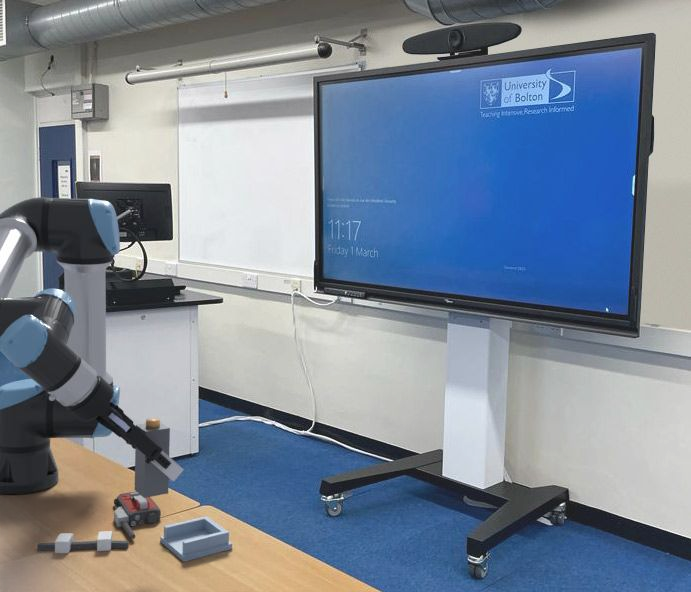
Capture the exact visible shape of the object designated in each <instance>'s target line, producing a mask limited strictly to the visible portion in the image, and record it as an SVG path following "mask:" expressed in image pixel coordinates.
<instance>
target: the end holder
mask: <svg viewBox="0 0 691 592" xmlns="http://www.w3.org/2000/svg"><path fill="white" fill-rule="evenodd" d="M159 539H160V541H159V542H160V543H161V544H162V545H163V544H164V545H163V546H164V547H166V549H168V550H169V551H170V552H171V553H173V555H175V556H176V557H177V558H178V559H180V560H181V561H182V562H185V563H186V562H189V561H192V560H195V559H199V558H203V557H206V556H211V555H214V554H217V553H221V552H225V551H229V550H232V549H233V543H232V542H231V541H230V532H229V531H228V530H227V529H225V528H224V527H222V526H221V525H220V524H218V523H217V522H216V521H214V520H213V519H212V518H210V517H209V516H207V515H206V516H202V517H197V518H192V519H188V520H184V521H181V522H176V523H172V524H167V525H164V526H163V535H161V536H159Z"/></svg>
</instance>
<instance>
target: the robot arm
mask: <svg viewBox="0 0 691 592" xmlns="http://www.w3.org/2000/svg"><path fill="white" fill-rule="evenodd" d="M117 217H118V216H117V213H116V210H115V207H114V206H113V204H112V203H111V202H109V201H107V200H101V199H94V198H66V197H65V198H62V197H60V198H59V197H47V196H46V197H39V196H38V197H33V198H32V197H31V198H29V199H25V200H22V201H19V202H18V203H15V204H14V205H12V206H10V207H8V208H7V209H5V210H4V211H2V212H1V213H0V352H1V354H3V355H4V356H5V358H6V359H7V360H8V361H9V362H10V363H11V364H12V365H13V366H14V367H16V368H18V369H19V370H20V371H21V372H22V373H23V374H25V375H26V376H27V377H29V378H26V379H21V380H17V381H11V382H8V383H5V384H2V385H1V386H0V494H2V495H3V494H4V495H24V494H31V493H36V492H40V491H41V492H42V491H43V490H46V489H49V488H51V487H53V486H55V485H56V484H57V483H58V481H59V468H58V465H57V462H56V459H55V456H54V455H53V452H52V448H51V439H72V438H73V439H77V438H78V439H80V438H81V439H85V438H86V439H87V438H88V439H94V438H106V437H109V436H111V435H112V434H113V433H114V434H115V435H116V436H117V437H119V438H121V439H122V440H124V441H125V443H126V444H127V445H129V446H131V447H132V448H133V450H134V449H135V447H136V448H137V449H138V450H139V451H140V452H142V453H143V454H144V455H145V456H146V457H147V460H146V461H145V462H146V463H147V464H149V463H150V462H151V463H153V464H154V465H155V466H156V467H157V468H158V469H159V470H161V471H162V472H163V473H164V474H165V475H166V476H167V477H169V480H170V481H172V482H175V481H176V480H177V479H178V477H179V476H180V475H181V474H182V472H183V471H184V468H182V467H181V465H179V464H178V463H177V462H176V461H175V460H174V459H173V458H171V457H170V455H169V456H168V455H167V454H166V453H165V452H164V451H163V450H162V448H161V447H158V446H157V445H156V444H155V443H154V442H153V441H152V440H151V439H149V438H148V437H147V436H146V435H145V434H144V433H143V432H142V431H141V430H139V429H138V428H137V427H136V425H135V424H134V421H133V419H131V418H130V417H129V416H127V415H126V414H125V413H124V412H125V411H124V410H123V409H122V408H121V407H119V404H120V395H121V387H120V386H117V384H116V385H114V378H113V376H112V375H111V374H109V373H108V371H107V324H106V323H107V318H106V317H107V314H106V313H107V311H106V310H107V308H106V307H107V306H106V304H107V303H106V297H107V296H106V294H107V293H106V290H107V289H106V286H107V285H106V283H107V282H106V281H107V280H106V270H107V268H109V266H110V265H111V264H112V263H113V262H114V260H113V259H114V257H113V256H114V255H115V256H116V255H118V254H119V253H120V249H121V248H120V247H121V243H120V241H121V240H120V229H119V224H118V223H119V222H118V218H117ZM37 252H38V253H39V252H40V253H41V252H43V253H55V254H56V263H58V265H60V266H61V267H62V268H63V271H64V273H63V274H64V276H63V278H64V281H63V282H64V290H61V289H58V288H47V289H46V288H45V289H44V290H41V291H39V292H38V293H37V294H35V296H33V298H21V297H20V298H19V297H17V298H16V297H8V296H9V294H10V292H11V290H12V289H13V285H14V284H15V281H16V279H17V277H18V274H19V272H20V270H21V268H22V266H23V265H24V262H25V260H26V259H27V258H29V257H31V255H33V253H37Z"/></svg>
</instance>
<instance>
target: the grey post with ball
mask: <svg viewBox="0 0 691 592" xmlns="http://www.w3.org/2000/svg"><path fill="white" fill-rule="evenodd" d="M135 426H136V427H137V428H138V429H139V430H141V431H142V432H143V433H144V434H145V435H146V436H147V437H148V438H149V439H151V440H152V441H153V442H154V443H155V444H156V445H157V446H158V447H161V448H162V450H163V451H164V452H165V453H166V454H167V455H168V456H169V457H170V441H171V440H170V439H171V437H170V436H171V435H170V434H171V428H170V427H169V426H167V425H166V424H164V423H162V422H161V419H160V418H156V417H152V418H151V417H150V418H147V419H146V420H145V423H142V424H140V423H139V424H136V425H135ZM134 453H135V456H134V457H135V460H134V461H135V462H134V465H135V466H134V492H136V491H137V492H138V493H139V494H140V495H141V496H142V497H144V498H147V497H150V498H151V497H156V496H157V497H158V496H162V495H166V494H169V482H170V481H169V480H170V478H169V477H167V476H166V475H165V474H164V473H163V472H162V471H161V470H159V469H158V468H157V467H156V466H155V465H154V464H153V463H151V462H150V463H149V464H147V463H146V462H145V461H146V460H147V457H146V456H145V455H144V454H143V453H142V452H140V451H139V450H138V449H137V448H136V447H135V452H134Z"/></svg>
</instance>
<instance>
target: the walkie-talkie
mask: <svg viewBox="0 0 691 592" xmlns="http://www.w3.org/2000/svg"><path fill="white" fill-rule="evenodd" d="M113 505H114V506H115V507H116V509H115V510H114V511H113V520H114V522H115V523H116V527H117V528H122V529H124V531H125V532H126V534H127V535H128V537H130V538H131V539H133V540H134V539H136V534H135V532H134V531H133V530H132V528H131V527H135V526H140V525H141V526H142V525H145V524H154V523H158V522H160V521H161V515H162V514H161V512H162V511H161V509H160V507H159V506H158V505H157V503H156V502H155V501H154V500H153V499H152V498H151V497H147V498H144V497H142V496H141V495H140V494H139V493H138V492H137V491H130V492H124V493H123V492H122V493H120V494H119V495H118V496H116V498H114V499H113Z"/></svg>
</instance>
